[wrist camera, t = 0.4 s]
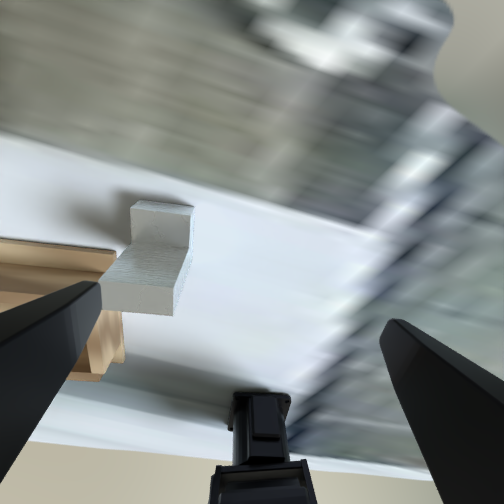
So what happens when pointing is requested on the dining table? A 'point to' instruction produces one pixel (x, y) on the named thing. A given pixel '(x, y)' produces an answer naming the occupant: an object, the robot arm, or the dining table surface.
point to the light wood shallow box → (58, 277)
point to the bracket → (151, 260)
